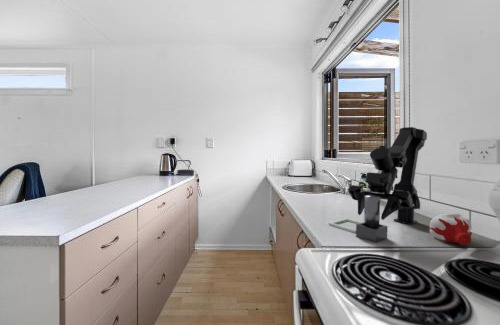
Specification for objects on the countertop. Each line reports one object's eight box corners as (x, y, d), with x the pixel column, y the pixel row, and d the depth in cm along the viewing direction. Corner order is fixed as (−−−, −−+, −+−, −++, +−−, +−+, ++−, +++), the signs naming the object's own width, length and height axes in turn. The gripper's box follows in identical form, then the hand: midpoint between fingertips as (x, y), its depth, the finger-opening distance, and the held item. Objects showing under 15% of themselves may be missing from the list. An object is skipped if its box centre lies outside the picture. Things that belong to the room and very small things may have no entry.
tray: (346, 222, 98) (346, 218, 98) (372, 230, 88) (372, 225, 88) (328, 227, 92) (328, 222, 92) (355, 235, 82) (355, 230, 82)
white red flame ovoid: (455, 234, 82) (488, 258, 68) (418, 231, 85) (443, 254, 70) (459, 209, 81) (493, 228, 67) (421, 207, 83) (447, 225, 69)
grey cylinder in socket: (367, 232, 83) (368, 193, 82) (387, 238, 77) (388, 196, 76) (356, 236, 79) (356, 195, 78) (375, 242, 73) (376, 198, 73)
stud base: (367, 235, 83) (367, 223, 83) (388, 241, 77) (388, 229, 77) (355, 239, 79) (355, 227, 79) (376, 246, 73) (376, 233, 73)
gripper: (350, 162, 87) (334, 196, 80) (410, 164, 72) (396, 206, 66) (360, 182, 92) (345, 216, 85) (418, 188, 78) (405, 229, 71)
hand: (370, 216), depth 77 cm, fingers open, 7 cm apart
